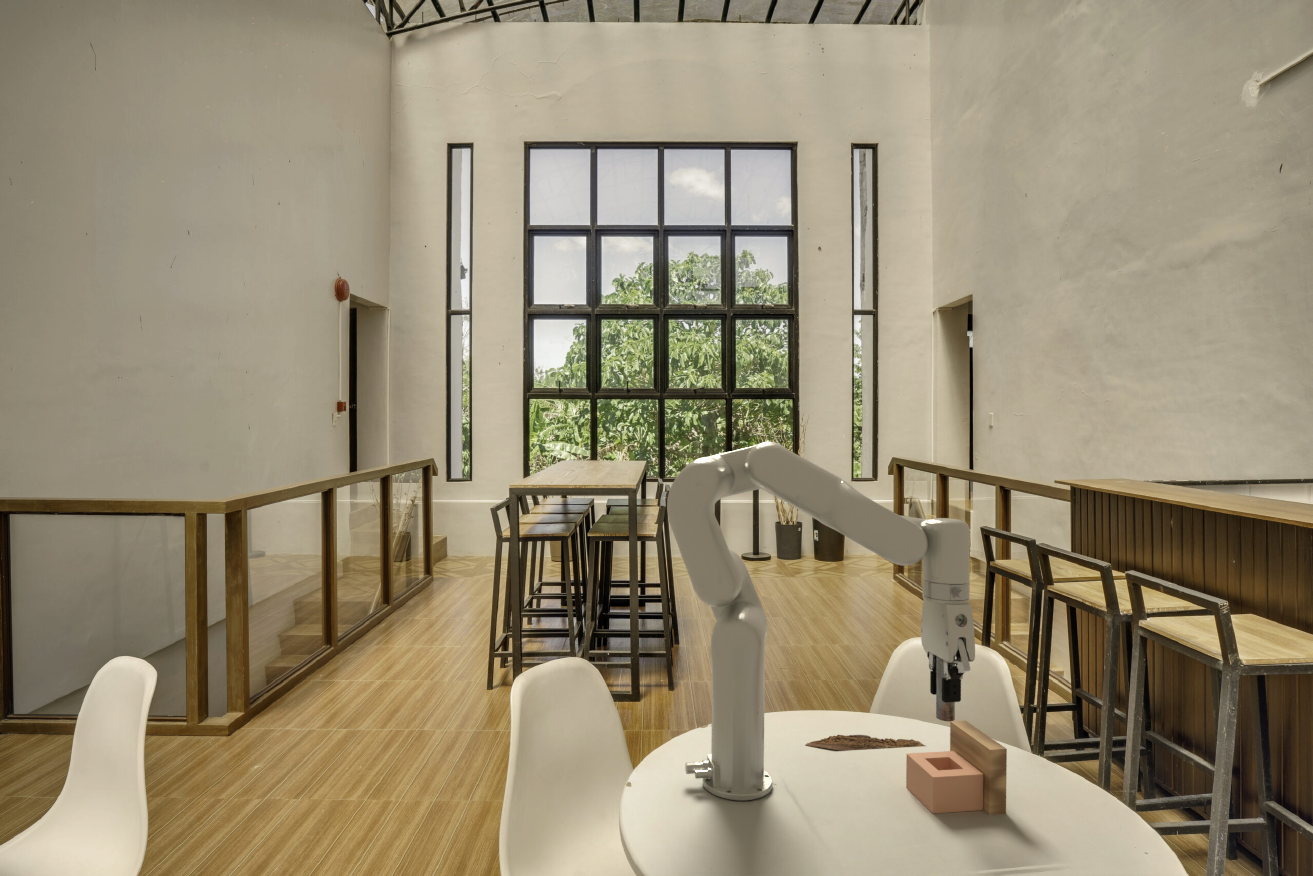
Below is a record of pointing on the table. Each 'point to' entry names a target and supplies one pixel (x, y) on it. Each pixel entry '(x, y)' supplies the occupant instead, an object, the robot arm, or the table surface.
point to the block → (944, 782)
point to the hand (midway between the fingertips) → (945, 696)
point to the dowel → (942, 709)
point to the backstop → (983, 762)
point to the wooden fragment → (862, 743)
